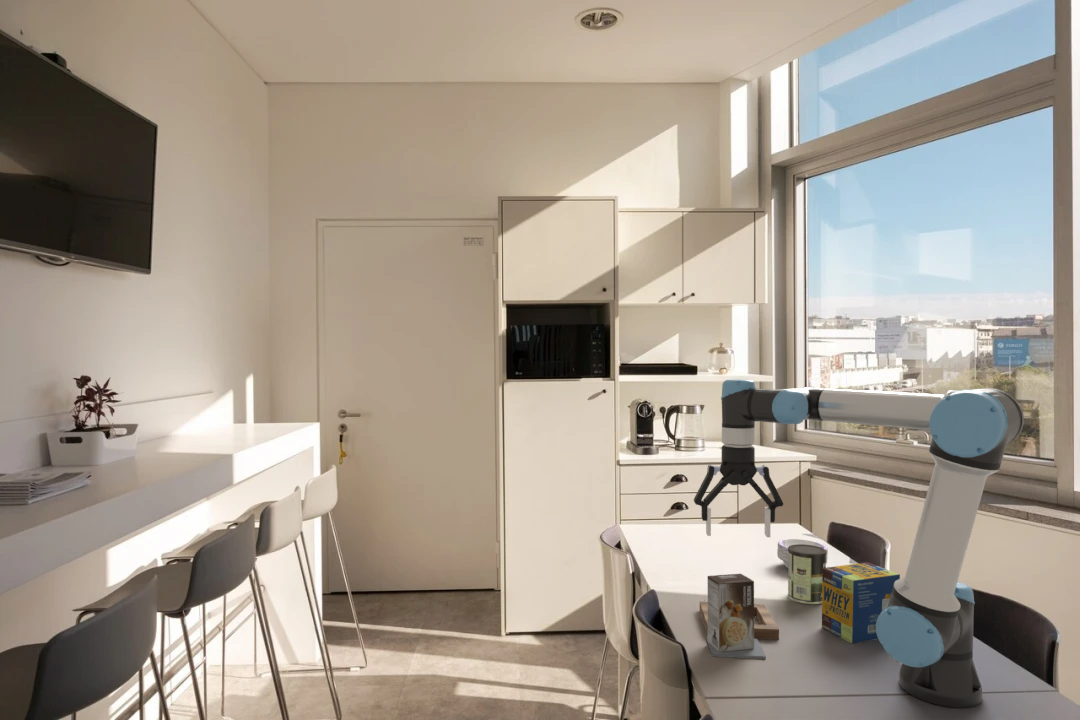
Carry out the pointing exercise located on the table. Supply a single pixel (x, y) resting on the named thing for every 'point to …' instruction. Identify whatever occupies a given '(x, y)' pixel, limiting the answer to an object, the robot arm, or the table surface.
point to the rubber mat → (741, 652)
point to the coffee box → (730, 612)
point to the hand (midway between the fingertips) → (737, 535)
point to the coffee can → (805, 573)
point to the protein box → (855, 599)
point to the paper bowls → (786, 543)
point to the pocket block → (762, 631)
